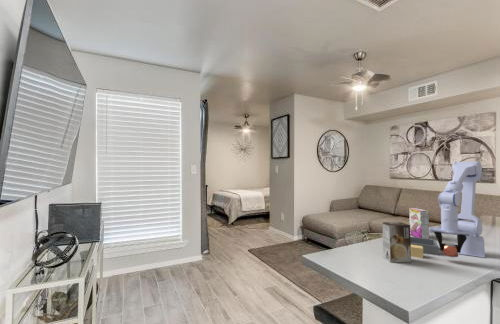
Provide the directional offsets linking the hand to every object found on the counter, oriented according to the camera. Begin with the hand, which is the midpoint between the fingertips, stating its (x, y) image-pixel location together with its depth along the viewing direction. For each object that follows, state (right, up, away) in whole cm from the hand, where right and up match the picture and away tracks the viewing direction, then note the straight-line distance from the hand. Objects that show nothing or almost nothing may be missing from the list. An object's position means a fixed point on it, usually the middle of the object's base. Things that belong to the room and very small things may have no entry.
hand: (449, 250), depth 108 cm
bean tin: (0, -2, 0) cm, 2 cm away
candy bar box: (+13, -6, +39) cm, 41 cm away
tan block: (-10, -5, +7) cm, 13 cm away
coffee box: (-22, -5, +2) cm, 23 cm away
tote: (-1, -5, +17) cm, 18 cm away
